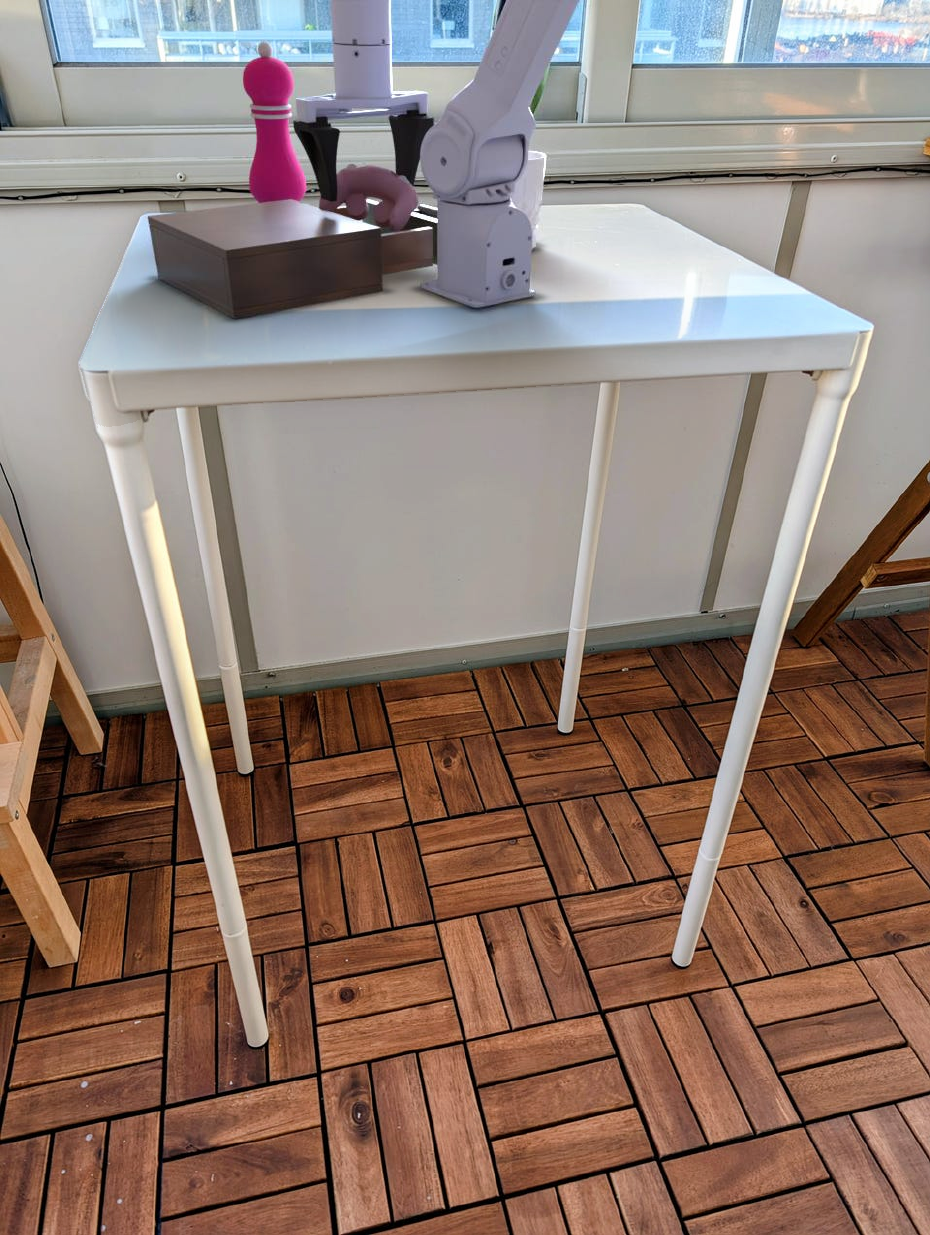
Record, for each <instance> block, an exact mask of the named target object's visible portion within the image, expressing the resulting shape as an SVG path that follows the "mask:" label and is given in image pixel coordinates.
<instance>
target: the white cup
mask: <svg viewBox="0 0 930 1235" xmlns="http://www.w3.org/2000/svg"><path fill="white" fill-rule="evenodd" d="M546 161H547V155H546V154H545V153H543V152H539V151H535V150H528V161H527V165H526V168H525V171H524V172H523V174H522V176H521V177H520V179H519V180H517V181H516V182H515V190H514V194H513V195H511V200H512V203H513V205H514V206H515V207H516V208H517V209H519V210H521V211H522V212H524V213H525V214H526V216H527V217H528V219H529V221H530V224H531V228H532V250H533V249H535V248H536V246H537V240H538V229H539V227H538V225H539V221H540V218H541V217H540V216H541V207H542V200H543V190H544V183H545V182H544V181H545V171H546V163H547V162H546Z"/></svg>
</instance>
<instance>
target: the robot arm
mask: <svg viewBox="0 0 930 1235" xmlns="http://www.w3.org/2000/svg"><path fill="white" fill-rule="evenodd" d="M579 2H580V0H505V3H504V5H503V7H502V10H501V12H500V15H499V17H498V20H497V21H496V24H495V27H494V29H493V32H492V34H491V36H490V39H489V41H488V43H487V46H486V48H485V50H484V53H483V56H482V58H481V60H480V63H479V66H478V68H477V70H476V72H475V75H474V78H473V79H472V80H471V81H469V83H468V84H467V85H466V86H464V87H463V89H461V90H460V91H459V92H458V93H457V94H455V96H453V98H451V99H450V100H449V101H448V103H447V104H446V107H445V108H444V111H443V113H442V115H441V116H440V119H439V120H438V121H437V122H436V123H435V117H434V116H431V115H428V114H429V93H428V92H426V91H419V90H407V91H405V90H404V91H402V90H401V91H399V90H398V91H396V90H395V91H393V65H392V64H393V61H392V60H393V59H392V21H391V20H392V17H391V16H392V15H391V14H392V13H391V0H329V3H330V4H329V5H330V21H331V24H330V25H331V40H332V41H331V42H332V56H333V58H332V59H333V60H332V61H333V74H334V75H333V76H334V77H333V78H334V93H330V94H323V95H315V96H308V97H307V96H305V97H296V98H295V105H296V106H295V107H296V108H295V109H296V119H294V120H293V121H292V123H293V124H292V125H293V131H294V133H295V135H296V136H297V138H298V140H299V141H300V143H301V145H302V148H303V149H304V152H305V154H306V155H307V158H308V159H309V162H310V165H311V167H312V171H313V173H314V176H315V180H316V183H317V186H318V190H319V194H320V197H321V198H322V199H325V200H327V201H331V202H332V201H337V174H338V172H337V157H338V147H339V141H340V140H339V139H340V135H341V131H340V128H337V127H332V123H330V122H329V121H334V120H335V121H336V120H349V119H361V118H372V117H385V116H386V117H387V116H388V123H389V126H390V130H391V136H392V141H393V147H394V148H393V149H394V158H395V159H394V160H395V162H394V163H395V164H394V165H395V173H396V174H397V175H399V176H405V177H406V179H407V180H408V181H409V182H410V183H411V185H412V186H413V187H414V186H415V181H416V176H417V173H418V169H419V164H420V168H421V169H420V170H421V173H422V175H423V178H424V180H425V183H426V184H427V185H428V187H429V189H430V190H431V191H432V198H433V199H434V200H436V208H437V265H436V267H437V268H436V275H437V276H436V279H430V280H425V281H420V283H419V287H420V288H421V289H424V290H426V291H429V292H431V293H434V294H437V295H439V296H442V297H444V298H447V299H450V300H452V301H456V302H458V303H460V304H463V305H466V306H468V307H471V308H474V309H481V308H485V307H490V306H494V305H498V304H503V303H509V302H512V301H516V300H522V299H526V298H531V297H535V296H536V291H535V290H534V289H531V288H530V284H531V268H532V250H533V249H532V228H531V224H530V221H529V219H528V217H527V216H526V214H525V213H524V212H522V211H521V210H519V209H517V208H516V207H515V206H514V205H513V203H512V200H511V195H513V194H514V190H515V182H516V181H517V180H519V179H520V177H521V176H522V174H523V172H524V171H525V168H526V165H527V161H528V151H529V148H530V142H531V140H532V136H533V134H534V132H535V130H536V128H537V122H536V120H535V117H534V115H533V113H532V111H531V107H530V105H531V103H532V101H533V99H534V97H535V95H536V93H537V91H538V88H539V86H540V84H541V83H542V80H543V78H544V75H545V74H546V72H547V70H548V68H549V66H550V64H551V61H552V59H553V57H554V55H555V52H556V51H557V48H558V47H559V44H560V43H561V40H562V39H563V36H564V34H565V32H566V29H567V28H568V26H569V24H570V21H571V19H572V17H573V16H574V12H575V10H576V8H577V6H578V4H579ZM354 109H357V110H358V111H357V110H354ZM359 109H371V110H359ZM414 188H415V187H414Z"/></svg>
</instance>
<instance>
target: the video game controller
mask: <svg viewBox="0 0 930 1235" xmlns="http://www.w3.org/2000/svg"><path fill="white" fill-rule="evenodd" d="M368 198H372V199H373V198H374V199H378V200H381V201H378V202H379V203H378V204H377V205H376V206H375V207H374V209H373V212H372V215H373V218H374V220H375V221H376V223H377V225H378V226H380V227H388V226H390V229H391V230H392V231H399V230H401V229H402V228H403V227H404V226H405V225H406V223H407V222H408V220H409V218H410V216H411V214H412V212H413V211H414V210H415V209H417V208H418V206H419V195H418V194H417V191H416V189H415V187H413V186H412V185H411V183H410V182H409V181H408V180H407V179H406V177H405V176H399V175H397V174H396V172H394V171H393V170H392V169H389V168H386V167H382V166H379V165H373V164H368V165H367V164H366V165H364V166H359V167H358V166H357V165H356V164H354V163H349V164H347V165H346V167H345V168H342V169H340V170H339V171H338V172H337V201H332V202H331V201H327V200H325V199H322V198H321V196H320V197H319V201H318V208H321V209H324V210H327V211H330V212H333V211H334V210H336V209H337V208H338V207H340V206H342V205H343V204H345V206H346V208H347V212H348V214H349V215H350V217H351V218H352V219H355V220H358V221H362V220H363V219H364V218H366V217H367V215H368V212H369V207H368V203H367V200H368Z"/></svg>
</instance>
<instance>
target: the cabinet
mask: <svg viewBox="0 0 930 1235" xmlns="http://www.w3.org/2000/svg"><path fill="white" fill-rule="evenodd" d="M147 222H148V227H149V233H150V238H151V245H152V249H153V256H154V262H155V267H156V274H157V278H158V279H159V280H161V281H163V282H165V283H167V284H168V285H170V286H172V287H174V288H176V289H178V290H180V291H181V292H183V293H185V294H187V295H188V296H191V297H192V298H195V299H196V300H199V302H201V303H204V304H205V305H207V306H209V307H211V308H213V309H215V310H217V311H219V312H220V313H222V314H224V315H226V316H228V317H230V318H232V319H233V320H238V319H243V318H248V317H254V316H259V315H265V314H270V313H276V312H281V311H285V310H290V309H296V308H301V307H307V306H312V305H313V306H314V305H317V304H318V305H319V304H322V303H328V302H334V301H338V300H344V299H349V298H354V297H360V296H365V295H370V294H375V293H380V292H384V287H383V285H384V284H383V275H382V249H381V228H380V227H376V226H373V225H370V224H367V223H364V222H362V220H360V221H358V220H355V219H352V218H349V217H345V216H342V215H339V214H336V213H333V212H330V211H327V210H324V209H321V208H319V206H314V205H311V204H308V203H305V202H302V201H300V202H299V201H296V200H293V199H288V200H280V201H271V202H263V203H259V202H255V203H248V204H239V205H229V206H221V207H214V208H213V207H212V208H205V209H197V210H196V209H195V210H189V211H180V212H171V213H163V214H156V215H155V214H154V215H147Z"/></svg>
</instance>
